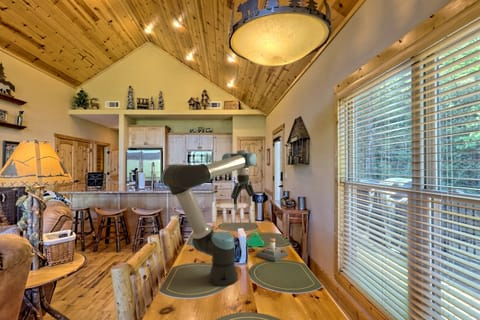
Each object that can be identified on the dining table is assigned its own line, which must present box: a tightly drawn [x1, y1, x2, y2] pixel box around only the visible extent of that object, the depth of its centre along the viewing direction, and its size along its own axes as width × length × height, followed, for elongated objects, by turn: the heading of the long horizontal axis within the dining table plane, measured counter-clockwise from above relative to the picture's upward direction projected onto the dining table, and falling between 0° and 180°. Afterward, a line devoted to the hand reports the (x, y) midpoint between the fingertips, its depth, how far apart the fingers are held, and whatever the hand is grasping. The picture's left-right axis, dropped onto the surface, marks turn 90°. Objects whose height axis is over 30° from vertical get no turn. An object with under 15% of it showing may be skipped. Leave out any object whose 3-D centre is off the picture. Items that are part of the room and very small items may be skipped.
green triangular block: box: [246, 231, 265, 248], centre depth 186 cm, size 12×8×10 cm, turn 87°
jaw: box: [269, 237, 276, 250], centre depth 165 cm, size 4×4×10 cm
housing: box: [256, 245, 288, 263], centre depth 165 cm, size 14×14×5 cm
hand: (243, 207), depth 164 cm, fingers open, 13 cm apart
